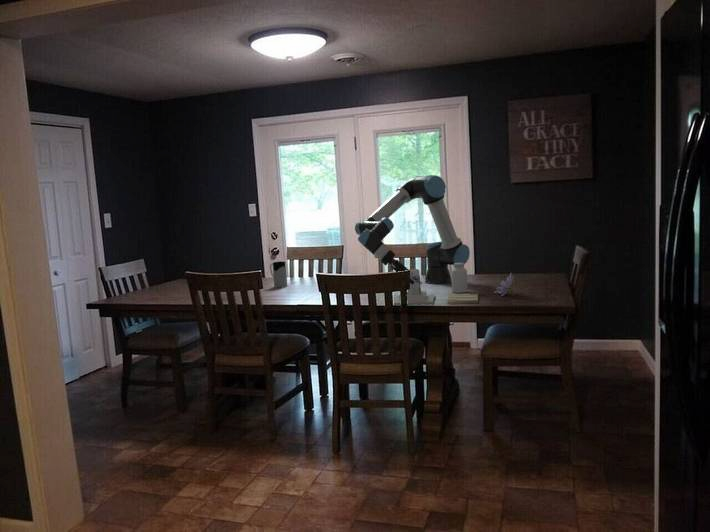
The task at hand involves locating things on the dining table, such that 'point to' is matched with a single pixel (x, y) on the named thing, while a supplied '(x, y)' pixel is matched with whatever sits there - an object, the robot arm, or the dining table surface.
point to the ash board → (462, 298)
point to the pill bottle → (459, 278)
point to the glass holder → (279, 274)
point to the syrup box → (416, 276)
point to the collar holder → (416, 298)
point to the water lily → (505, 285)
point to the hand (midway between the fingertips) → (419, 286)
